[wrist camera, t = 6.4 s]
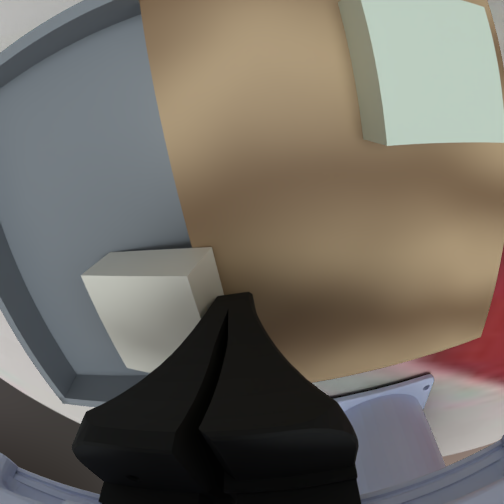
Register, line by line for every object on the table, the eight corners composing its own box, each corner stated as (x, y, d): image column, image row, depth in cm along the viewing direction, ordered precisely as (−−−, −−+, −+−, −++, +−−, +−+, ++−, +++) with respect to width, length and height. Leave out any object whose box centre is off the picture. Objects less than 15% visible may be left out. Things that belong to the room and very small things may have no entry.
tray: (238, 371, 16) (236, 407, 14) (77, 376, 17) (63, 403, 14) (150, 2, 8) (127, -20, 6) (-28, 103, 9) (-60, 108, 7)
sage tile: (473, 135, 9) (505, 142, 7) (363, 139, 9) (386, 145, 8) (454, 16, 7) (484, 7, 5) (337, 3, 7) (355, -18, 5)
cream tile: (239, 351, 13) (224, 385, 11) (146, 340, 14) (126, 367, 13) (211, 246, 11) (187, 276, 9) (109, 252, 12) (80, 275, 11)
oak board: (468, 321, 15) (480, 336, 13) (238, 371, 16) (237, 392, 14) (465, -5, 7) (483, -11, 6) (150, 2, 8) (137, -10, 7)
